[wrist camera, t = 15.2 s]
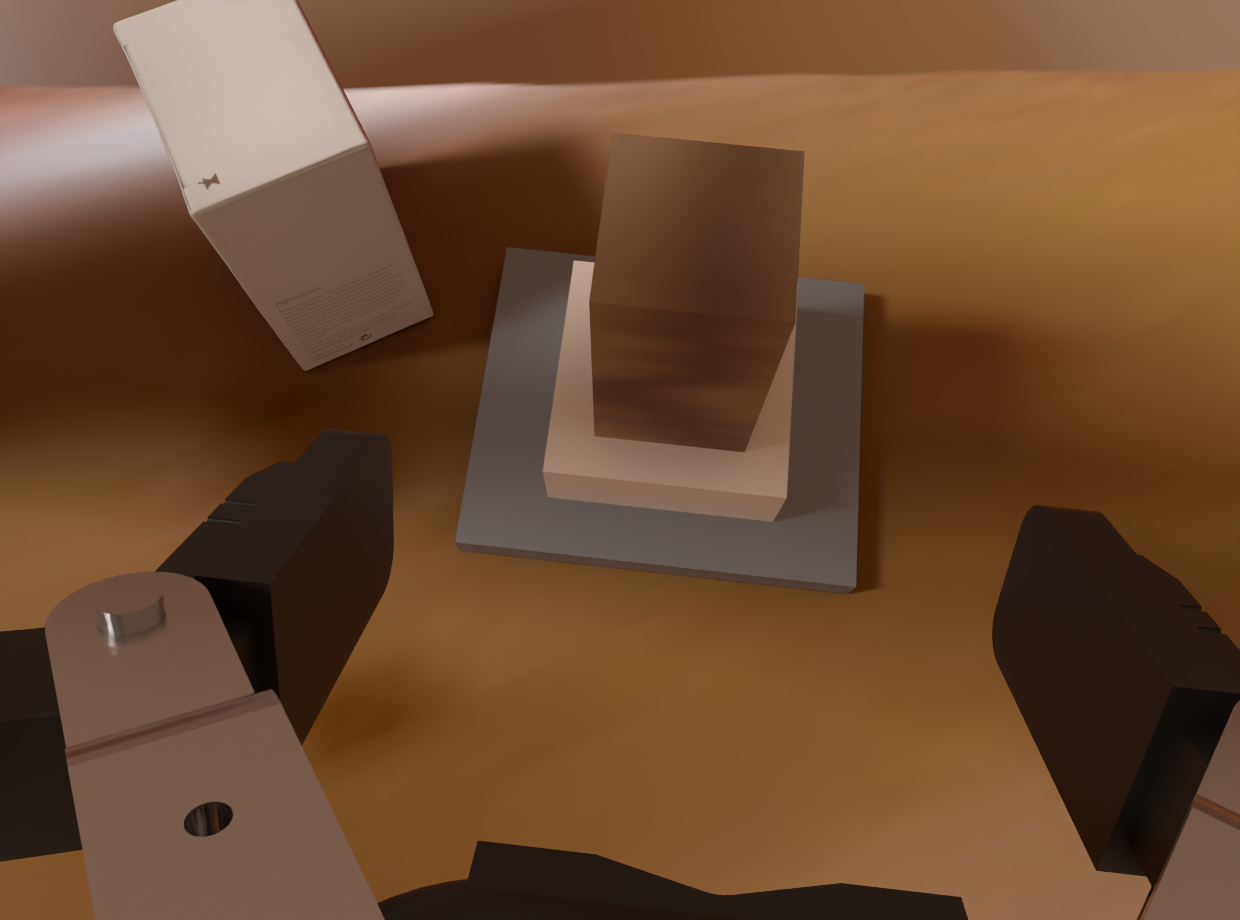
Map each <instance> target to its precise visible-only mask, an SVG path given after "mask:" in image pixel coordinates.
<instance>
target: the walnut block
mask: <svg viewBox="0 0 1240 920" xmlns="http://www.w3.org/2000/svg"><path fill="white" fill-rule="evenodd" d="M803 169H804V152H803V151H793V150H783V149H773V148H763V147H753V146H742V145H732V144H722V143H712V142H702V141H691V140H681V139H671V138H661V137H651V136H640V135H630V134H620V133H612V138H611V146H610V153H609V160H608V168H607V175H606V182H605V189H604V197H603V204H602V211H601V219H600V226H599V233H598V240H597V248H596V255H595V262H594V269H593V277H592V284H591V291H590V299H589V312H590V337H591V362H592V387H593V412H594V436H597V437H606V438H615V439H625V440H634V441H644V442H653V443H662V444H672V445H681V446H690V447H700V448H709V449H718V450H728V451H737V452H745V450H746V448H747V445H748V443H749V440H750V438H751V435H752V432H753V430H754V427H755V425H756V422H757V420H758V417H759V415H760V412H761V409H762V407H763V404H764V402H765V399H766V397H767V394H768V392H769V389H770V386H771V384H772V381H773V379H774V376H775V374H776V371H777V369H778V366H779V363H780V361H781V358H782V356H783V353H784V351H785V348H786V346H787V343H788V340H789V338H790V335H791V333H792V330H793V328H794V325H795V321H796V302H797V283H798V264H799V245H800V226H801V207H802V188H803Z"/></svg>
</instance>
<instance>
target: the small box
mask: <svg viewBox="0 0 1240 920" xmlns="http://www.w3.org/2000/svg"><path fill="white" fill-rule="evenodd" d="M113 30H114V33H115V35H116V37H117V39H118V40H119V42H120V44H121V46H122V48H123V50H124V52H125V54H126V56H127V58H128V61H129V63H130V65H131V68H132V70H133V72H134V74H135V76H136V79H137V81H138V84H139V86H140V88H141V91H142V93H143V96H144V98H145V101H146V103H147V105H148V108H149V110H150V112H151V115H152V117H153V119H154V122H155V124H156V127H157V129H158V131H159V134H160V136H161V139H162V141H163V144H164V146H165V149H166V151H167V154H168V156H169V158H170V161H171V163H172V166H173V168H174V171H175V174H176V176H177V179H178V182H179V185H180V188H181V191H182V194H183V197H184V200H185V202H186V205H187V208H188V212H189V214H190V216H191V217H192V219H193V220H194V221H195V222H196V224H197V225H198V226H199V228H200V229H201V230H202V232H203V233H204V235H205V236H206V237H207V239H208V240H209V242H210V243H211V244H212V246H213V247H214V249H215V250H216V251H217V253H218V254H219V255H220V257H221V258H222V259H223V261H224V262H225V263H226V265H227V266H228V268H229V269H230V271H231V272H232V273H233V275H234V276H235V278H236V279H237V281H238V282H239V283H240V285H241V286H242V288H243V289H244V290H245V292H246V293H247V295H248V296H249V297H250V299H251V300H252V302H253V303H254V304H255V306H256V307H257V309H258V310H259V311H260V313H261V314H262V315H263V317H264V318H265V319H266V321H267V322H268V324H269V325H270V326H271V328H272V329H273V330H274V332H275V333H276V334H277V336H278V337H279V339H280V340H281V341H282V343H283V344H284V345H285V347H286V348H287V349H288V351H289V352H290V353H291V355H292V356H293V357H294V359H295V360H296V361H297V363H298V364H299V365H300V366H301V368H302V369H303V370H305V371H307V370H310V369H312V368H314V367H316V366H319V365H321V364H323V363H326V362H328V361H330V360H332V359H335V358H337V357H339V356H342V355H344V354H346V353H349V352H351V351H353V350H356V349H358V348H360V347H362V346H364V345H367V344H369V343H371V342H374V341H376V340H378V339H380V338H383V337H385V336H387V335H390V334H392V333H394V332H396V331H399V330H401V329H403V328H406V327H408V326H410V325H413V324H415V323H417V322H420V321H422V320H424V319H427V318H429V317H431V316H433V314H434V313H433V310H432V307H431V304H430V301H429V299H428V296H427V293H426V291H425V288H424V285H423V283H422V280H421V278H420V275H419V272H418V269H417V267H416V264H415V261H414V259H413V256H412V253H411V251H410V248H409V245H408V243H407V240H406V237H405V235H404V232H403V229H402V227H401V224H400V222H399V219H398V216H397V214H396V211H395V208H394V206H393V203H392V201H391V198H390V195H389V193H388V190H387V187H386V185H385V182H384V179H383V177H382V174H381V171H380V168H379V166H378V163H377V160H376V157H375V154H374V152H373V149H372V146H371V143H370V141H369V139H368V137H367V135H366V134H365V132H364V130H363V128H362V126H361V124H360V122H359V120H358V118H357V116H356V114H355V112H354V110H353V108H352V106H351V104H350V102H349V100H348V98H347V96H346V94H345V92H344V90H343V88H342V86H341V85H340V83H339V80H338V79H337V77H336V75H335V73H334V71H333V69H332V67H331V65H330V63H329V61H328V59H327V57H326V55H325V53H324V51H323V49H322V47H321V45H320V43H319V41H318V39H317V37H316V35H315V33H314V32H313V30H312V28H311V26H310V24H309V22H308V20H307V18H306V16H305V14H304V12H303V10H302V8H301V6H300V4H299V2H298V0H177V1H175V2H172V3H169V4H166V5H163V6H160V7H158V8H155V9H152V10H149V11H146V12H143V13H141V14H138V15H135V16H132V17H129V18H127V19H124V20H121V21H118V22H116V23H115V24H114V26H113Z"/></svg>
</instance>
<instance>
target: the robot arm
mask: <svg viewBox="0 0 1240 920" xmlns="http://www.w3.org/2000/svg"><path fill="white" fill-rule="evenodd" d="M393 549H394V534H393V486H392V452H391V445H390V441H389V439H388V437H387V436H386V435H382V434H372V433H363V432H353V431H344V430H335V429H326V430H324V431H323V432H322V433H321V434H320V435H319V437H318V438H317V439H316V440H315V441H314V442H313V443H312V444H311V445H310V447H309V448H308V449H307V450H306V451H305V452H304V453H303V454H302V455H301V457H300V458H299V459H298V460H297V461H296V462H295V463H289V462H278V463H276V464H274V465H272V466H270V467H268V468H266V469H264V470H261V471H259V472H257V473H255V474H253V475H251V476H249V477H247V478H245V479H244V480H243V481H242V482H241V483H240V485H239V486H238V487H237V488H236V489H235V490H234V491H233V492H232V493H231V494H230V495H229V496H228V497H227V498H226V499H225V504H220V505H219V506H218V507H217V508H216V509H215V510H214V511H213V512H212V513H211V514H210V515H209V516H208V521H207V522H202V524H201V525H200V526H199V527H198V528H197V529H196V530H195V531H194V532H193V533H192V534H191V535H190V536H189V537H188V538H187V539H186V540H185V541H184V542H183V543H182V544H181V545H180V546H179V547H178V548H177V549H176V550H175V551H174V552H173V553H172V554H171V555H170V556H169V557H168V558H167V559H166V560H165V562H164V563H163V564H162V565H161V566H160V567H159V568H158V569H157V570H156V571H155V572H138V573H130V574H124V575H118V576H114V577H110V578H106V579H103V580H100V581H97V582H95V583H92V584H90V585H87V586H85V587H83V588H81V589H79V590H77V591H75V592H73V593H72V594H70V595H69V596H67V597H66V598H64V599H63V600H62V601H60V602H59V603H58V604H57V605H56V606H55V607H54V608H53V609H52V611H51V612H50V614H49V615H48V617H47V620H46V623H45V627H44V628H36V629H26V630H14V631H2V632H0V862H1V861H8V860H15V859H22V858H28V857H35V856H42V855H49V854H56V853H63V852H70V851H77V850H83V854H84V860H85V865H86V871H87V876H88V882H89V887H90V893H91V898H92V904H93V909H94V915H95V920H968V918H967V915H966V911H965V908H964V905H963V902H962V898H961V897H955V896H946V895H938V894H929V893H921V892H912V891H904V890H895V889H887V888H878V887H869V886H861V885H852V884H844V883H838V884H829V885H820V886H811V887H802V888H793V889H783V890H774V891H765V892H756V893H747V894H737V895H716V894H711V893H707V892H704V891H701V890H698V889H695V888H692V887H689V886H686V885H684V884H681V883H678V882H675V881H672V880H669V879H666V878H663V877H660V876H657V875H654V874H651V873H648V872H645V871H642V870H640V869H637V868H634V867H631V866H628V865H625V864H622V863H619V862H616V861H613V860H610V859H607V858H604V857H601V856H599V855H596V854H587V853H579V852H570V851H562V850H553V849H545V848H536V847H528V846H519V845H511V844H502V843H493V842H485V841H478V842H477V846H476V850H475V854H474V858H473V861H472V865H471V869H470V873H469V877H468V879H465V880H457V881H449V882H445V883H440V884H436V885H431V886H426V887H422V888H418V889H415V890H412V891H409V892H406V893H403V894H400V895H397V896H394V897H391V898H388V899H386V900H384V901H382V902H379V903H376V900H375V898H374V896H373V894H372V892H371V890H370V888H369V886H368V884H367V882H366V880H365V877H364V875H363V873H362V871H361V869H360V867H359V865H358V863H357V861H356V859H355V857H354V855H353V852H352V850H351V848H350V846H349V844H348V842H347V840H346V838H345V836H344V834H343V832H342V829H341V827H340V825H339V823H338V821H337V819H336V817H335V815H334V813H333V811H332V809H331V807H330V804H329V802H328V800H327V798H326V796H325V794H324V792H323V790H322V788H321V786H320V784H319V782H318V779H317V777H316V775H315V773H314V771H313V769H312V767H311V765H310V763H309V761H308V759H307V756H306V754H305V752H304V750H303V748H302V744H303V742H304V740H305V739H306V737H307V735H308V733H309V731H310V729H311V727H312V726H313V724H314V722H315V720H316V718H317V716H318V714H319V713H320V711H321V709H322V707H323V705H324V703H325V701H326V700H327V698H328V696H329V694H330V692H331V690H332V688H333V687H334V685H335V683H336V681H337V679H338V677H339V675H340V673H341V672H342V670H343V668H344V666H345V664H346V662H347V660H348V659H349V657H350V655H351V653H352V651H353V649H354V647H355V646H356V644H357V642H358V640H359V638H360V636H361V634H362V633H363V631H364V629H365V627H366V625H367V623H368V621H369V620H370V618H371V616H372V614H373V612H374V610H375V608H376V607H377V605H378V603H379V601H380V599H381V597H382V595H383V593H384V591H385V589H386V586H387V583H388V580H389V576H390V572H391V567H392V560H393ZM1201 608H1202V606H1201V605H1200V604H1199V603H1198V602H1197V601H1196V600H1195V598H1194V597H1193V596H1192V595H1191V594H1190V593H1189V592H1188V590H1187V589H1186V588H1185V587H1184V586H1183V585H1182V583H1181V582H1180V581H1179V580H1178V579H1176V578H1175V577H1173V576H1172V575H1170V574H1169V573H1167V572H1166V571H1164V570H1163V569H1161V568H1160V567H1158V566H1157V565H1155V564H1154V563H1152V562H1151V561H1149V560H1148V559H1146V558H1145V557H1143V556H1142V555H1137V554H1136V553H1135V552H1134V551H1133V550H1132V548H1131V547H1130V546H1129V545H1128V544H1127V542H1126V541H1125V540H1124V539H1123V538H1122V536H1121V535H1120V534H1119V533H1118V532H1117V530H1116V529H1115V528H1114V527H1113V526H1112V524H1111V523H1110V522H1109V521H1108V520H1107V518H1106V517H1105V516H1104V515H1103V514H1102V513H1100V512H1096V511H1087V510H1078V509H1068V508H1059V507H1049V506H1040V505H1036V506H1033V507H1032V508H1031V509H1030V510H1029V511H1028V512H1027V514H1026V515H1025V517H1024V520H1023V522H1022V525H1021V528H1020V531H1019V534H1018V537H1017V541H1016V544H1015V547H1014V551H1013V554H1012V557H1011V560H1010V564H1009V567H1008V570H1007V574H1006V577H1005V580H1004V583H1003V587H1002V590H1001V593H1000V596H999V600H998V603H997V606H996V610H995V614H994V619H993V629H992V641H993V649H994V654H995V658H996V661H997V663H998V666H999V668H1000V670H1001V672H1002V674H1003V676H1004V678H1005V680H1006V682H1007V684H1008V687H1009V689H1010V691H1011V693H1012V695H1013V697H1014V699H1015V701H1016V703H1017V705H1018V707H1019V710H1020V712H1021V714H1022V716H1023V718H1024V720H1025V722H1026V724H1027V726H1028V728H1029V731H1030V733H1031V735H1032V737H1033V739H1034V741H1035V743H1036V745H1037V747H1038V749H1039V752H1040V754H1041V756H1042V758H1043V760H1044V762H1045V764H1046V766H1047V768H1048V770H1049V773H1050V775H1051V777H1052V779H1053V781H1054V783H1055V785H1056V787H1057V789H1058V791H1059V794H1060V796H1061V798H1062V800H1063V802H1064V804H1065V806H1066V808H1067V810H1068V812H1069V815H1070V817H1071V819H1072V821H1073V823H1074V825H1075V827H1076V829H1077V831H1078V833H1079V836H1080V838H1081V840H1082V842H1083V844H1084V846H1085V848H1086V850H1087V852H1088V854H1089V857H1090V859H1091V861H1092V863H1093V865H1094V867H1095V869H1096V871H1104V872H1113V873H1122V874H1130V875H1139V876H1147V878H1148V880H1149V882H1150V884H1151V886H1152V887H1151V889H1150V891H1149V893H1148V896H1147V898H1146V900H1145V902H1144V904H1143V906H1142V909H1141V911H1140V913H1139V915H1138V918H1137V920H1240V650H1239V649H1238V648H1237V647H1236V645H1235V644H1234V643H1233V642H1232V641H1231V640H1230V639H1229V637H1228V636H1227V635H1224V634H1221V628H1220V627H1219V626H1218V625H1217V624H1216V623H1215V621H1214V620H1213V619H1212V618H1211V617H1210V616H1209V614H1208V613H1207V612H1202V611H1201Z"/></svg>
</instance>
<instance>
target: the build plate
mask: <svg viewBox="0 0 1240 920" xmlns="http://www.w3.org/2000/svg"><path fill="white" fill-rule="evenodd" d="M594 262H595V256H590V255H580V254H570V253H561V252H551V251H541V250H532V249H522V248H512V247H507V249H506V255H505V261H504V266H503V272H502V278H501V283H500V289H499V295H498V300H497V306H496V311H495V317H494V323H493V328H492V334H491V340H490V345H489V351H488V357H487V362H486V368H485V374H484V379H483V385H482V391H481V396H480V402H479V408H478V413H477V419H476V425H475V430H474V436H473V442H472V447H471V453H470V459H469V464H468V470H467V476H466V481H465V487H464V493H463V498H462V504H461V510H460V515H459V521H458V527H457V532H456V538H455V543H456V545H457V547H458V548H459V550H460V551H468V552H476V553H485V554H494V555H503V556H512V557H521V558H530V559H539V560H548V561H557V562H566V563H575V564H583V565H592V566H601V567H610V568H619V569H628V570H637V571H646V572H655V573H664V574H673V575H682V576H691V577H699V578H708V579H717V580H726V581H735V582H744V583H753V584H762V585H771V586H780V587H789V588H798V589H807V590H815V591H824V592H833V593H842V594H849V593H850V592H851V591H852V590H853V589H854V588H856V575H857V538H858V501H859V464H860V427H861V390H862V353H863V316H864V284H862V283H852V282H842V281H832V280H823V279H813V278H803V277H798V283H797V302H796V321H795V325H794V328H793V330H792V333H791V335H790V338H789V340H788V343H787V346H786V348H785V351H784V353H783V356H782V358H781V361H780V363H779V366H778V369H777V371H776V374H775V376H774V379H773V381H772V384H771V386H770V389H769V392H768V394H767V397H766V399H765V402H764V404H763V407H762V409H761V412H760V415H759V417H758V420H757V422H756V425H755V427H754V430H753V432H752V435H751V438H750V440H749V443H748V445H747V448H746V450H745V452H737V451H728V450H718V449H709V448H700V447H690V446H681V445H672V444H662V443H653V442H644V441H634V440H625V439H615V438H606V437H597V436H594V412H593V387H592V362H591V337H590V312H589V299H590V291H591V284H592V277H593V269H594Z"/></svg>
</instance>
